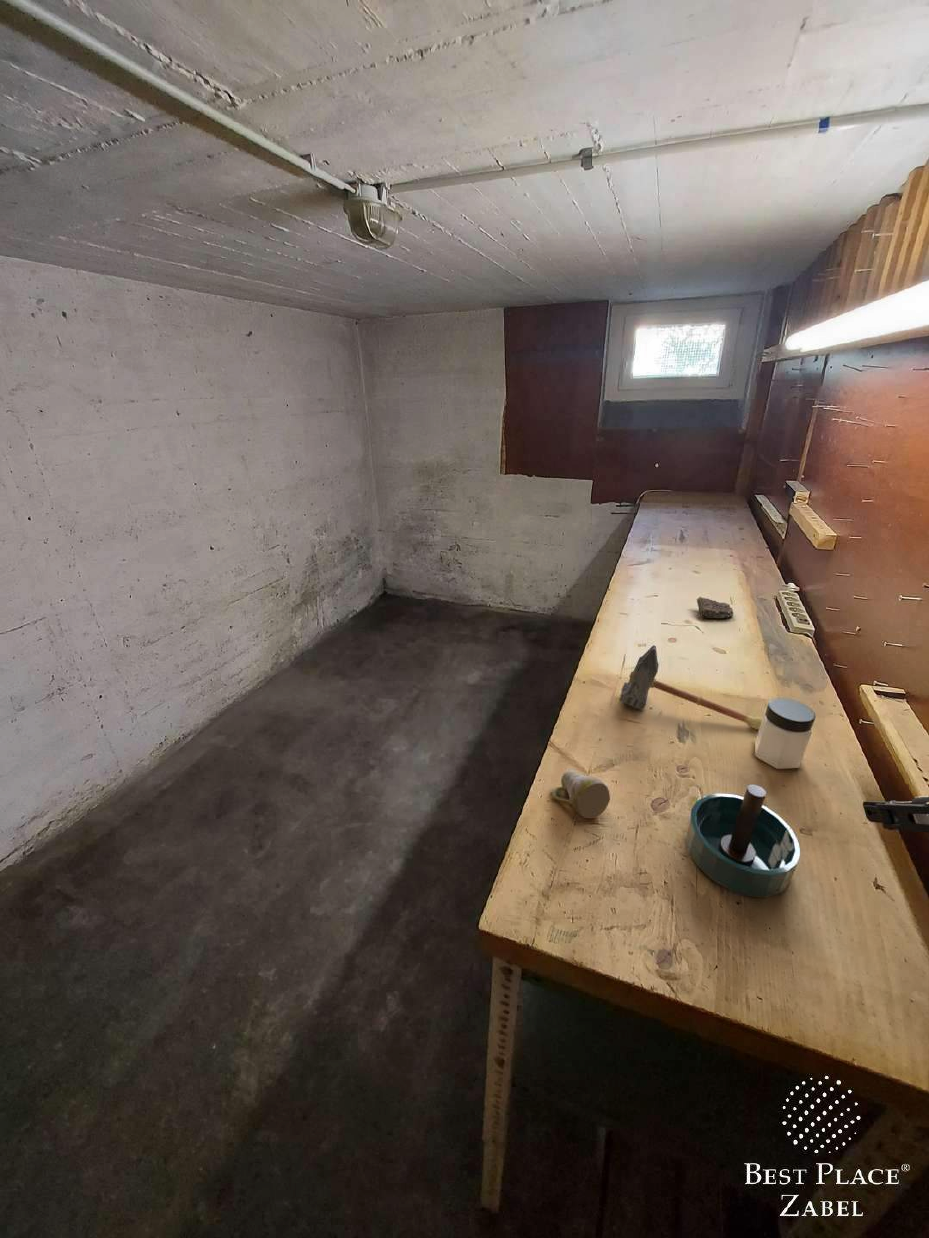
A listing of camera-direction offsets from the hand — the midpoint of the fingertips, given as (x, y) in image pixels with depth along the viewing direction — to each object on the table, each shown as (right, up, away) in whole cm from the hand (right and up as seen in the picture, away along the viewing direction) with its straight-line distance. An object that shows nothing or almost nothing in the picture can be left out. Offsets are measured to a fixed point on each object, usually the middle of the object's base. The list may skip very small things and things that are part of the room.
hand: (901, 808), depth 56 cm
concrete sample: (+33, +23, +106) cm, 113 cm away
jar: (+14, -7, +45) cm, 48 cm away
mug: (-29, -13, +36) cm, 48 cm away
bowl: (-6, -17, +24) cm, 31 cm away
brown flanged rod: (-6, -17, +24) cm, 30 cm away
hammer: (+2, -1, +59) cm, 59 cm away
